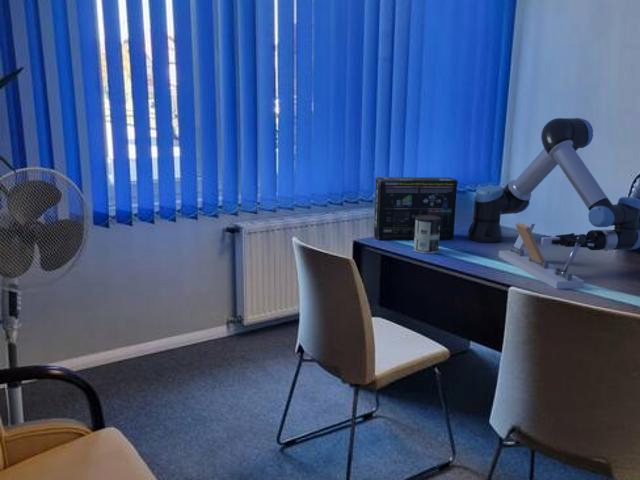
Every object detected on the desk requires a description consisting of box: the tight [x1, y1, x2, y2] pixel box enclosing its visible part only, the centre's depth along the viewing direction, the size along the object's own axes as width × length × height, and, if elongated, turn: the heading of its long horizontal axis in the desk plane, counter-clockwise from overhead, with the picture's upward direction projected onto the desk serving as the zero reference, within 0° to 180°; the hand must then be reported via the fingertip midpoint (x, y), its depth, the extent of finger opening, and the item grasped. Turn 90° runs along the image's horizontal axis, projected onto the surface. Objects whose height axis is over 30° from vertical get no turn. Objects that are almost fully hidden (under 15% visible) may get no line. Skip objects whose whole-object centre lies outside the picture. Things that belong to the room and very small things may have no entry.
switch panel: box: [498, 244, 585, 290], centre depth 204 cm, size 10×39×5 cm, turn 11°
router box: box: [373, 176, 459, 241], centre depth 247 cm, size 36×11×27 cm, turn 96°
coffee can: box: [413, 215, 441, 255], centre depth 227 cm, size 10×10×14 cm
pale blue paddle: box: [512, 220, 536, 254], centre depth 217 cm, size 2×5×13 cm, turn 11°
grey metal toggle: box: [556, 234, 585, 278], centre depth 188 cm, size 3×5×15 cm, turn 11°
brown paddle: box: [514, 222, 546, 266], centre depth 201 cm, size 2×8×17 cm
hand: (542, 241), depth 201 cm, fingers closed
